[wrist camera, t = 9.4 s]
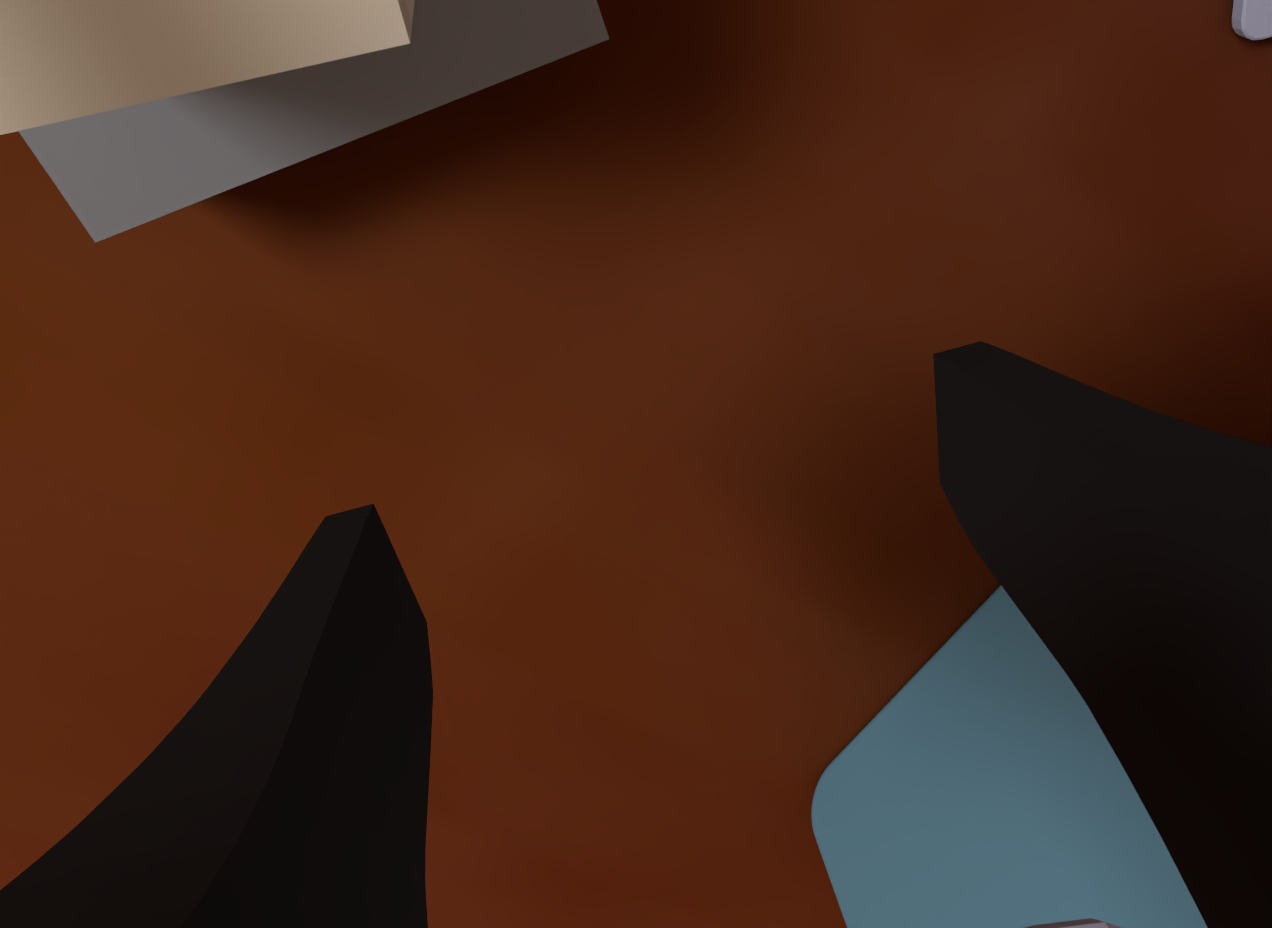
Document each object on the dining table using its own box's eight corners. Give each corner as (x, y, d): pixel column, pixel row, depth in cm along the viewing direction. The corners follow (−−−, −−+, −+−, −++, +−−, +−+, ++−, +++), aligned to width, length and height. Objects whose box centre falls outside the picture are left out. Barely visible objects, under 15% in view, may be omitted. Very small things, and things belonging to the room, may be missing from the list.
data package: (897, 826, 35) (1076, 1234, 25) (795, 793, 34) (945, 1218, 24) (1156, 577, 31) (1498, 959, 21) (1053, 522, 29) (1376, 913, 19)
